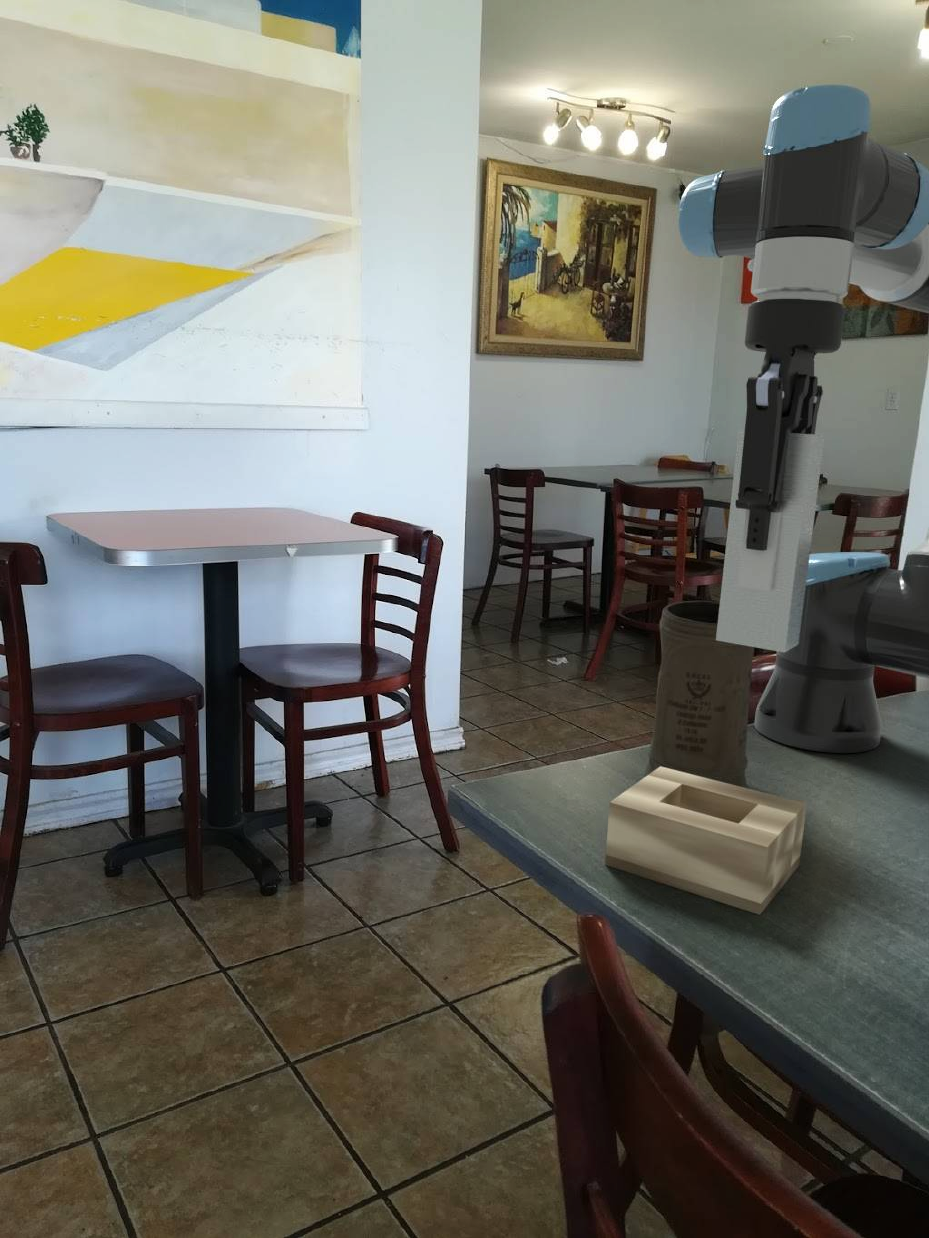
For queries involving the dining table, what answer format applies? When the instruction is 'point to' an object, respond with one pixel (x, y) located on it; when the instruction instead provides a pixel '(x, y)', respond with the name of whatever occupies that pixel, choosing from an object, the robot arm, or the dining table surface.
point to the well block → (706, 837)
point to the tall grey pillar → (780, 610)
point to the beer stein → (701, 697)
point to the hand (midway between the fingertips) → (763, 584)
